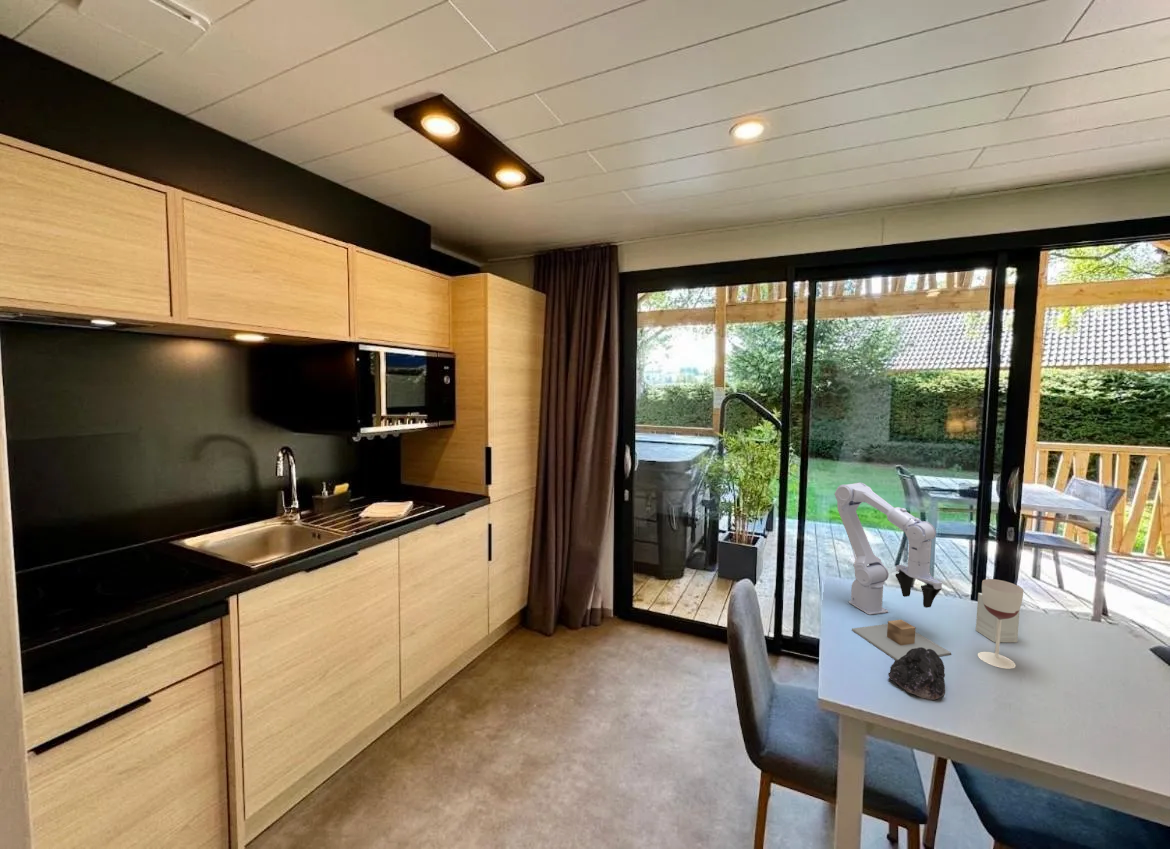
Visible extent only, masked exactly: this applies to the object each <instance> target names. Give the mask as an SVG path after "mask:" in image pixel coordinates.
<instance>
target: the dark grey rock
mask: <svg viewBox="0 0 1170 849" xmlns="http://www.w3.org/2000/svg"><path fill="white" fill-rule="evenodd" d="M940 657H941V656H938V655H937V653H936V652H935V651H934V650H932V649H927V650H926V649H925V648H923V647H919V648H915V649H911V650H909V651H908V652H907V654H906V655H904V656H903V657H901V658H900V659H899V660H895V659H894V662H893V663H892V664H891V666H890V667H889V668H890V669H889V672H888V677H889V680H891V681H893V682H894V683H895V684H896V685H897V686H898V687H900V688H902V689H903V690H905V691H906V692H907V693H909V694H911V695H915V696H917V697H919V698H921V699H927V700H930V701H931V700H933V701H935V700H937V699H939V698H942V697H943V696H944V695H945V694H946V682H945V678H946V677H945V676H946V673H945V665H944V662H943V660H942V658H940Z"/></svg>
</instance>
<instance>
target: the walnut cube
mask: <svg viewBox="0 0 1170 849" xmlns="http://www.w3.org/2000/svg"><path fill="white" fill-rule="evenodd" d="M887 624H888V627H887V637H888V638H890V639H891V640H893V641H894V642H896V643H898V644H899V645H907V644H914V643H915V632H916V627H915V626H914V625H912V624H910V623H908V622H907V621H905V620H903V619H896V620H888V621H887Z"/></svg>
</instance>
